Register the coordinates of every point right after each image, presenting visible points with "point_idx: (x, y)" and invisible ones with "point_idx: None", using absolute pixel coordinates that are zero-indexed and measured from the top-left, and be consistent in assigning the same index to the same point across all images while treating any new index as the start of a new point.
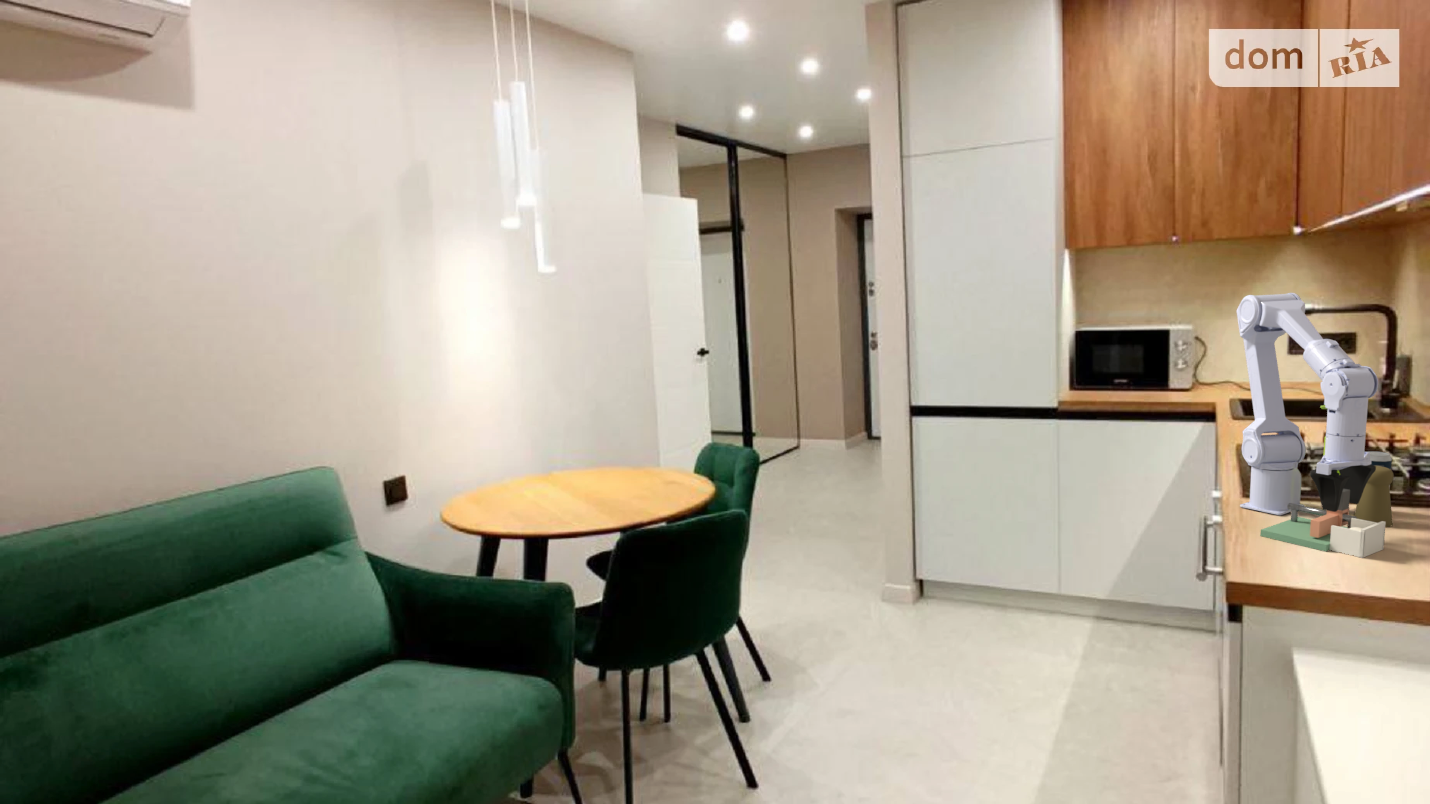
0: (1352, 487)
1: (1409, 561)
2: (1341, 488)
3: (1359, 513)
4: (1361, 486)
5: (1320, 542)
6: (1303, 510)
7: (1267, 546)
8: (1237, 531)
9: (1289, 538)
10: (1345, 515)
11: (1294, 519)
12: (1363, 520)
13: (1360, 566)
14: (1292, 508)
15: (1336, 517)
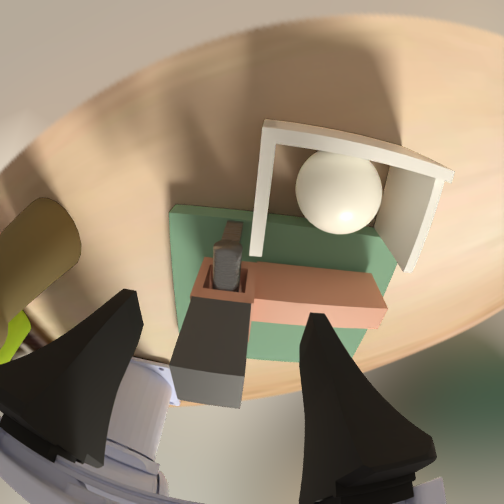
0: (110, 358)
1: (343, 37)
2: (368, 402)
3: (63, 267)
4: (91, 343)
5: (389, 258)
6: None
7: (412, 320)
8: None
9: None
10: (233, 281)
11: None
12: (262, 214)
13: (464, 140)
14: None
15: (268, 294)
